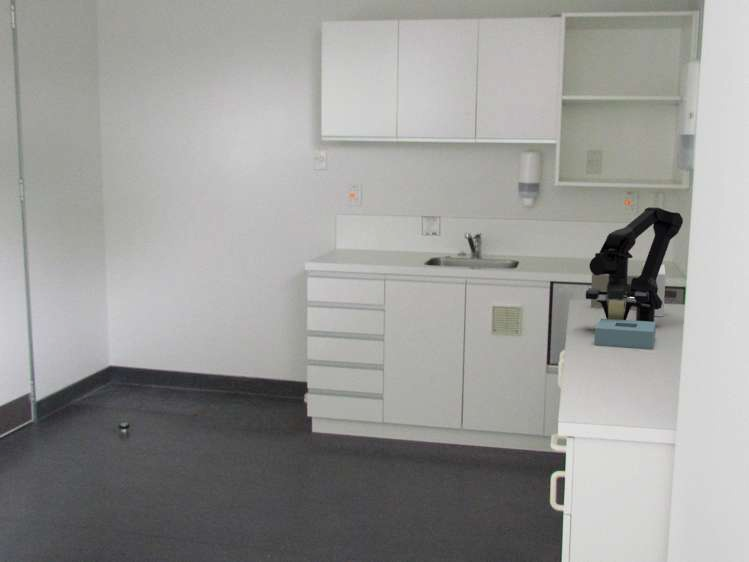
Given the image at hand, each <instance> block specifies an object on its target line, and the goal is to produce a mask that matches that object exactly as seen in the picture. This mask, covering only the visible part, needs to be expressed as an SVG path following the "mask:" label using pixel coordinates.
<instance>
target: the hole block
mask: <svg viewBox="0 0 749 562" xmlns="http://www.w3.org/2000/svg"><path fill="white" fill-rule="evenodd" d="M656 326H657V323H656V321H654V322H648V321H636V320H629V319H628V320H627V319H626V320H615V319H607V318H600V320H599V321H598V323H597V324H596V326H595V327H594V346H602V347H603V346H605V347H616V348H617V347H618V348H630V349H631V348H634V349H643V350H645V349H646V350H654V344H655V341H656Z"/></svg>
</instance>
